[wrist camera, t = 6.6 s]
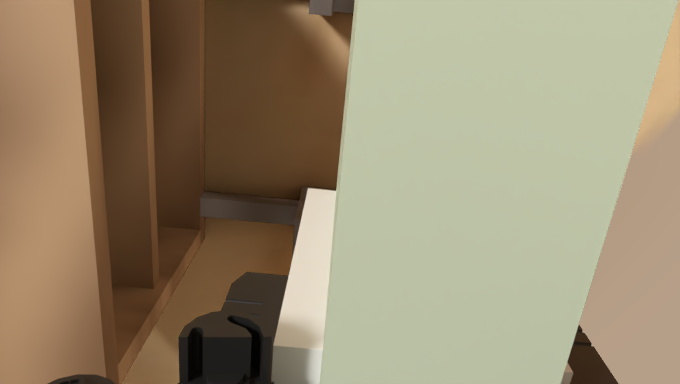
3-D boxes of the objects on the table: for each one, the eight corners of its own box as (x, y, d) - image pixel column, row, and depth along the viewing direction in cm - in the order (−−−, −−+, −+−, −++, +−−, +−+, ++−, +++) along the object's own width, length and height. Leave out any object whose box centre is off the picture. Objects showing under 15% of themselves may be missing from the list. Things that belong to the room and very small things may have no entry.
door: (313, 421, 17) (283, 750, 10) (359, -45, 12) (367, -93, 5) (434, 432, 17) (496, 769, 10) (530, -27, 12) (805, -49, 5)
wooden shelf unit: (42, 222, 33) (-164, 382, 19) (1, -109, 26) (-352, -203, 13) (400, 255, 33) (433, 433, 20) (449, -63, 26) (545, -109, 13)
